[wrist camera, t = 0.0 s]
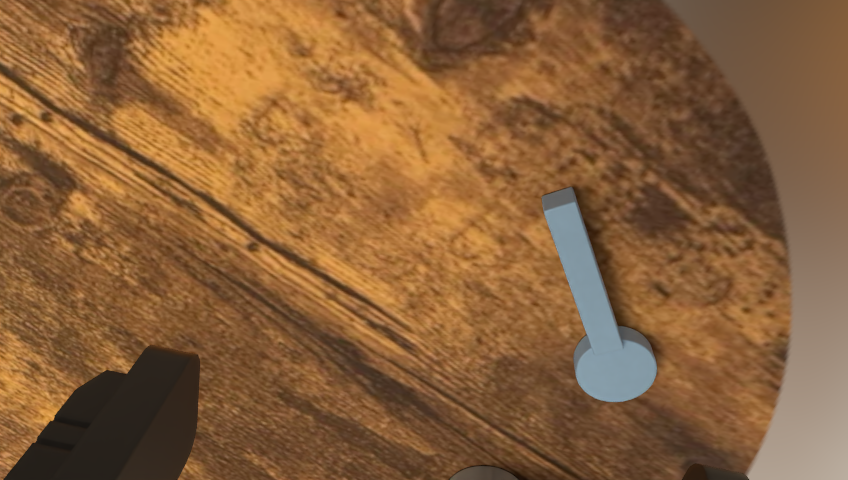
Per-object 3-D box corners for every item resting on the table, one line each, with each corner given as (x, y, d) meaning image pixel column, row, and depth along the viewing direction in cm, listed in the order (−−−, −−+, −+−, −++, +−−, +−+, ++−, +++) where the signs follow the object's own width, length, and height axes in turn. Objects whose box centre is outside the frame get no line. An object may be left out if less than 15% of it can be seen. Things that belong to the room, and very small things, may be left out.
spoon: (514, 203, 31) (515, 219, 29) (599, 177, 30) (604, 192, 28) (585, 394, 35) (588, 415, 34) (660, 376, 34) (667, 398, 33)
